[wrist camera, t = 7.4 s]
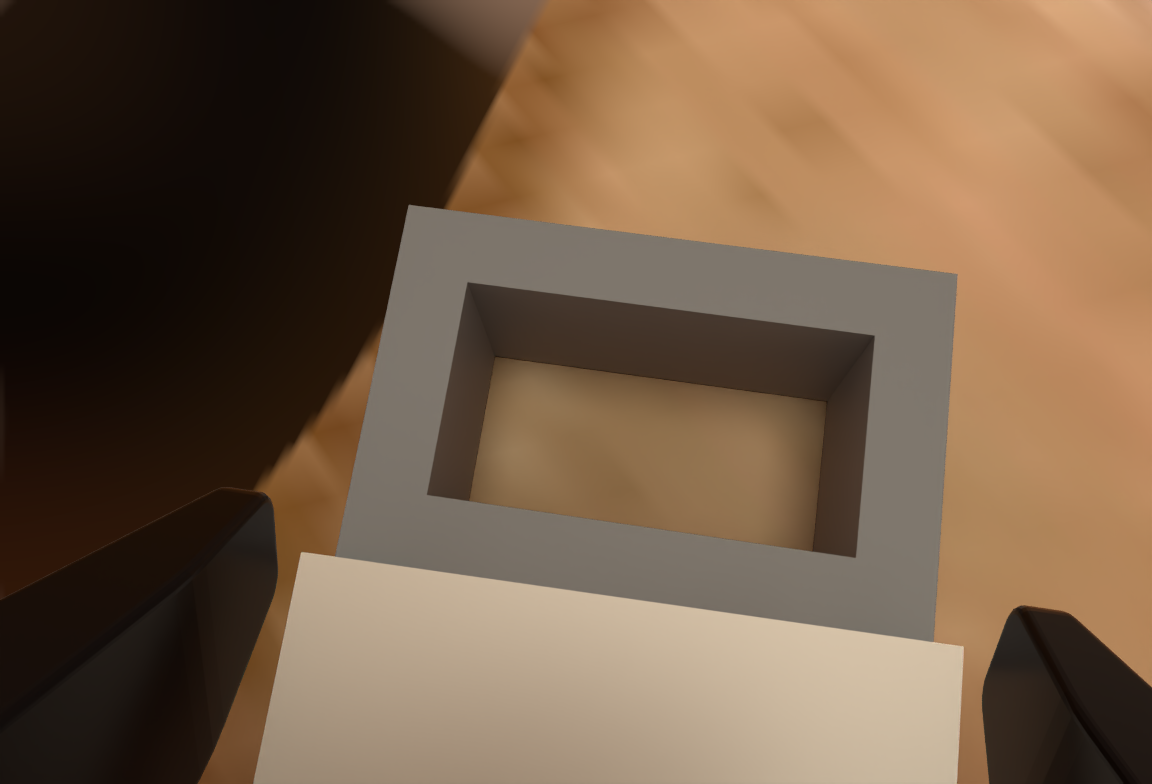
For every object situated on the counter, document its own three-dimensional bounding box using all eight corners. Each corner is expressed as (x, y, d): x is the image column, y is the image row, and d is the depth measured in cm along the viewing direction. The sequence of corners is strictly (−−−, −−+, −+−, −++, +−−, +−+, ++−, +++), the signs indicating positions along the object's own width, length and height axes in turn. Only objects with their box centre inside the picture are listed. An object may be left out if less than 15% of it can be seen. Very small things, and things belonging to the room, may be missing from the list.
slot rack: (821, 1267, 17) (884, 1447, 13) (275, 1160, 18) (173, 1300, 14) (895, 350, 21) (961, 269, 17) (446, 291, 22) (406, 199, 18)
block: (746, 815, 19) (944, 1024, 7) (465, 770, 19) (229, 902, 8) (760, 668, 19) (962, 646, 8) (488, 628, 20) (301, 552, 8)
